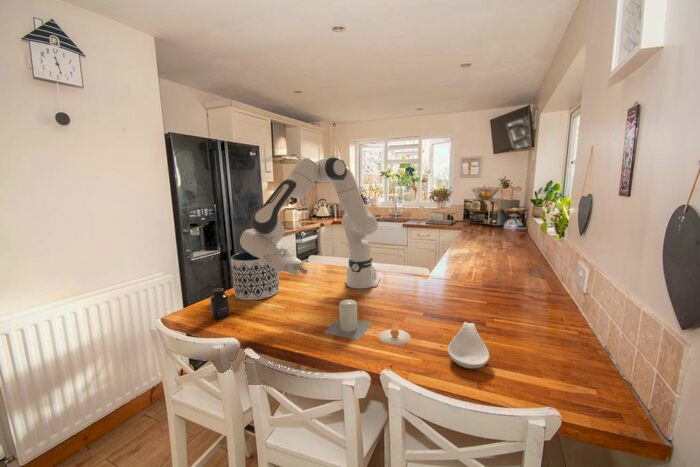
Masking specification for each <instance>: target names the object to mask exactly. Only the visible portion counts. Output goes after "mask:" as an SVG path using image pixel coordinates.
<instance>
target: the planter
mask: <svg viewBox="0 0 700 467" xmlns="http://www.w3.org/2000/svg"><path fill="white" fill-rule="evenodd" d="M230 265H231V274H232V284H233V286H232V287H233V293H234V297H235V298H237V299H239V300H242V301H260V300H264V299H269V298H271V297H273V296H274V295H276V294H277V293H279V291H280V277H279V276H280V275H279V271H277V270H275V269H274V268H272V267H270V266H269V265H267V264H265V263H264V262H262V261H261V260H260V259H259V258H258V257H255V256H253V255H251V254H250V253H248V252H247V251H246V250H245V251H241V252H238V253H236V254H233V255H232V256H230Z"/></svg>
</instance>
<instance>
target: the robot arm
mask: <svg viewBox="0 0 700 467" xmlns="http://www.w3.org/2000/svg"><path fill="white" fill-rule="evenodd" d="M330 182H331V183H332V184H333V185H334V189H335V192H336V195H337V197H338V200H339V201H338V202H339V203H340V207H341V208H342V209H343V210H344V211H345V212H346V213H345V214H343V215H342V217H341V227H342V228H343V230H344V231H345V232H344V233H345V236H346V239H347V243H348V252H349V253H348V254H349V255H348V256H349V258H348V268H346V279H345V280H344V284H345V285H346V286H348V287H349V288H352V289H359V290H360V289H368V288H376V287H378V285H379V284H380V281H381V276H379V275H377V268H376V267H374V266H373V264H372V263H373V262H372V261H374V260H373V259H374V258H373V257H372V256H371V245H370V243H369V241H368V239H367V236H370V235H373V234H375V233H376V231H377V229H378V224H379V223H378V220H377V219H376V217H375V216H373V214H372V213H371V212H370V209H368V207H367V205H366V204H365V202H364V200H363V197H362V196H361V193H360V190H359V186H358V184H357V181H356V179H355V176H354V174H353V172H352V171H351V169H350V168H349V167H348V166H347V165H346V163H345V161H344V159H342V158H341V157H339V156H331V157H325V158H321V159H319V160H317V161H315V160H314V159H313V158H311V157H304V158H302V159H301V160H300V161H299V162H298V163H297V164H296V165H295V167H294V168H293V169H292V170H291V171H290V174H289V176H288V177H287V178H285V179H284V180H283V181H282V182H281V183H280V184H279V185H278V186H277V187H276V188H275V190H274V191H273V193H271V195H270V196H269V198H268V199H267V200H266V201H265V202H264V203H263V205H261V206H259V208H257V209H256V210H255V211H254V212H253V214H252V215H251V220H250V224H251V225H252V226H251V227H252V228H249V229H245V230H243V231H242V233H241V235H240V239H239V245H240V246H241V248H242V249H244V250H245V252H246V251H247V252H248V253H250V254H251V255H253V256H255V257H258V258H259V259H260V260H261V261H262V262H264V263H265V264H267V265H269V266H270V267H272V268H274V269H275V270H277V271H278V273H279V272H280V273H281V272H286V273H288V274H292V275H293V276H298V274H299V271H300V273H302V274H303V275H307V274H308V270H307V269H306V268H305V267H304V266H303V265H304V262H302V260H300V259H299V258H298V257H296V256H295V255H294V254H292V253H290V251H289V249H286V248H284V247H281V245H278V244H277V243H279V241H280V240H281V239H283V237H284V235H285V226H284V225H283V223H282V221H281V220H280V219H279V214H280V212H281V210H282V208H284V207H283V206H285V204H286V203H287V201H288V200H290V199H291V198H294V199H302V198H305V197H307V195H308V194H309V192H310V191H311V190H312V188H313V186H314V184H326V183H330Z"/></svg>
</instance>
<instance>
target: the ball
mask: <svg viewBox="0 0 700 467" xmlns="http://www.w3.org/2000/svg"><path fill="white" fill-rule="evenodd" d="M391 329H392V330H391V332H390V333H391V335H392V336H393V337H397V336H398V335H399V331H398V330H399V329H398V328H396V327H395V328H391Z"/></svg>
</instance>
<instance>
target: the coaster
mask: <svg viewBox="0 0 700 467" xmlns="http://www.w3.org/2000/svg"><path fill="white" fill-rule="evenodd" d="M392 329H393V328H391V329H385V330H383V331H381V332H380V333H379V335H378V337H379V340H380V341H381V342H383V343H384V344H388V345H392V346H400V345H401V346H402V345H404V344H407V343H409V342H410V341H411V338H412V337H411V334H410V333H408V332H407V331H405V330H402V329H398V331H399V335H398V336H397V337H393V336H392V335H391V333H390V332H391V330H392Z"/></svg>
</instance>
